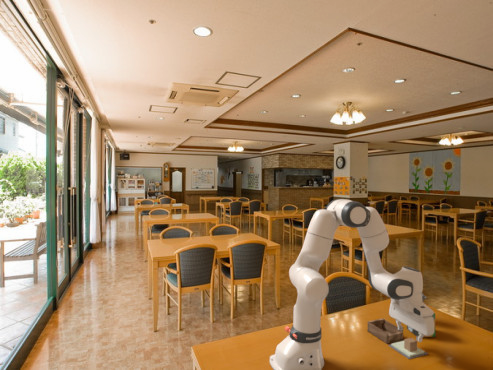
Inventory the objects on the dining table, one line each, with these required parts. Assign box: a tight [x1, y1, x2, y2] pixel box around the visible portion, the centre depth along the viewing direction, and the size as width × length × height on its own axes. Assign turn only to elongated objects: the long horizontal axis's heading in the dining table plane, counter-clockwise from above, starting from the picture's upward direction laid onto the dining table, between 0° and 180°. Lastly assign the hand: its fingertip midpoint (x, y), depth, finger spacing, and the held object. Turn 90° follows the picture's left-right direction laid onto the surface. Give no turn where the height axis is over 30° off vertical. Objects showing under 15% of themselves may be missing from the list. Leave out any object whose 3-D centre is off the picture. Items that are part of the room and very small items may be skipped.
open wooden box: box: [367, 318, 404, 345], centre depth 143 cm, size 10×12×5 cm
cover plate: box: [390, 337, 425, 357], centre depth 131 cm, size 9×10×5 cm
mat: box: [387, 343, 429, 360], centre depth 131 cm, size 11×11×1 cm
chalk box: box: [406, 312, 437, 338], centre depth 146 cm, size 9×9×15 cm
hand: (409, 335), depth 130 cm, fingers open, 8 cm apart
